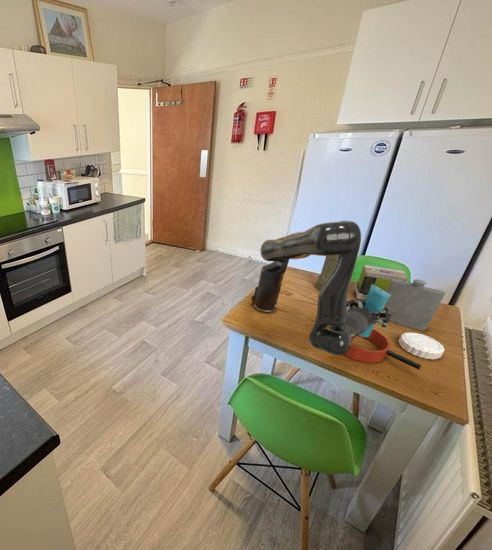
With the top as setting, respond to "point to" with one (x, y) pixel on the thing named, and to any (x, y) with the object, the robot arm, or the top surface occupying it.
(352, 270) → the robot arm
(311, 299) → the top surface
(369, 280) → the tea box
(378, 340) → the pan
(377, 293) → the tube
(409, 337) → the mooncake
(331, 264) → the thermos
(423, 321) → the hip flask
